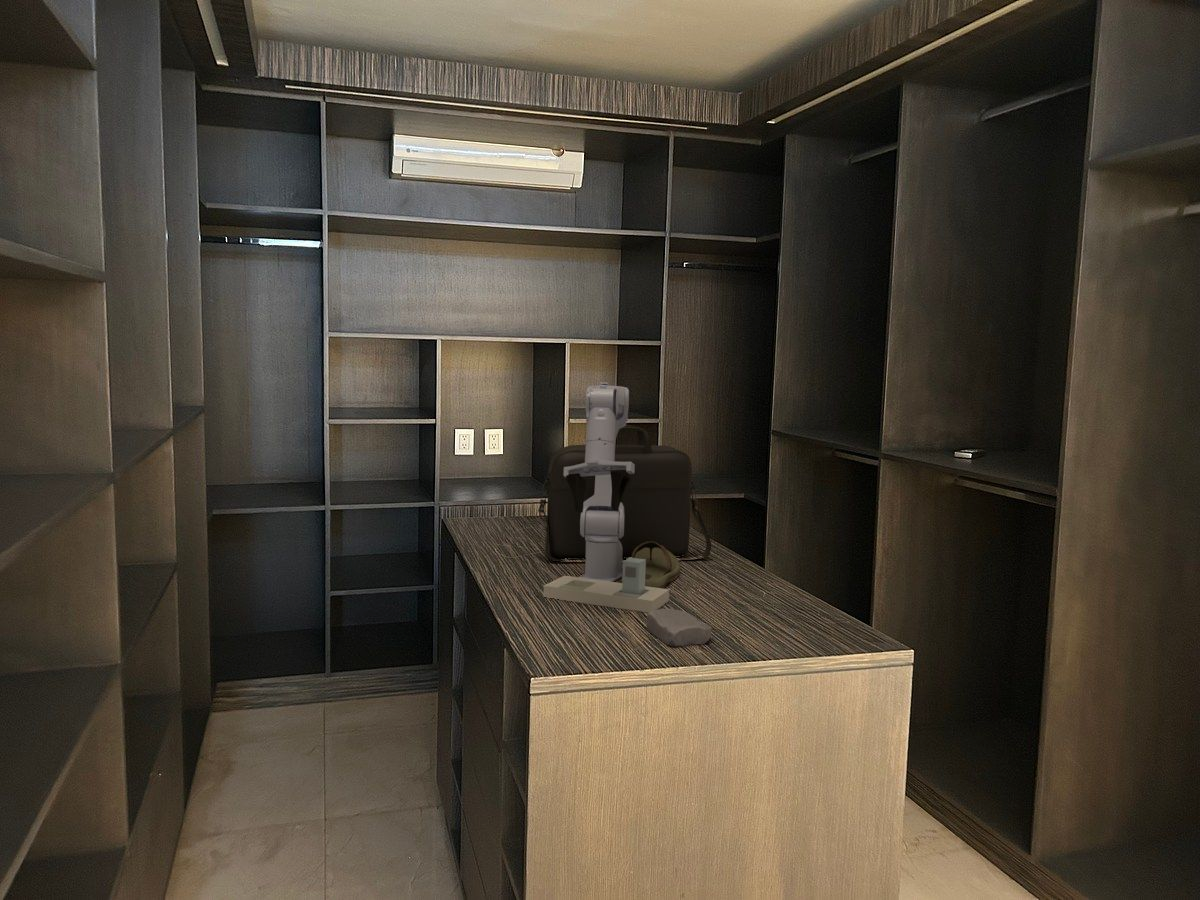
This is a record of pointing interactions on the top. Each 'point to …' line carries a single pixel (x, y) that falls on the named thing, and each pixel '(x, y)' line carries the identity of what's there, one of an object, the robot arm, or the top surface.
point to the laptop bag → (626, 500)
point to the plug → (634, 576)
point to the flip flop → (657, 564)
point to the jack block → (605, 594)
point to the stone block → (677, 627)
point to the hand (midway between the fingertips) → (596, 510)
